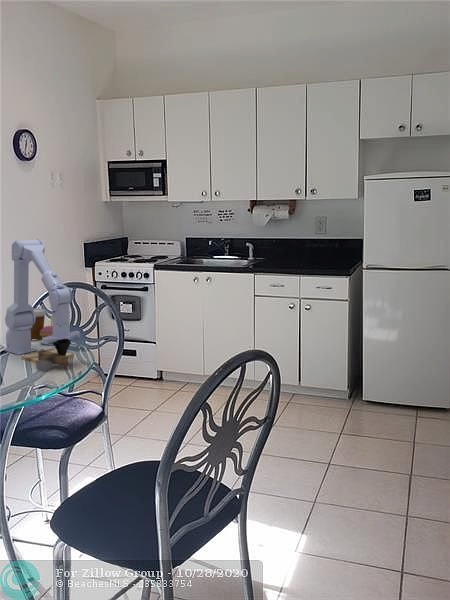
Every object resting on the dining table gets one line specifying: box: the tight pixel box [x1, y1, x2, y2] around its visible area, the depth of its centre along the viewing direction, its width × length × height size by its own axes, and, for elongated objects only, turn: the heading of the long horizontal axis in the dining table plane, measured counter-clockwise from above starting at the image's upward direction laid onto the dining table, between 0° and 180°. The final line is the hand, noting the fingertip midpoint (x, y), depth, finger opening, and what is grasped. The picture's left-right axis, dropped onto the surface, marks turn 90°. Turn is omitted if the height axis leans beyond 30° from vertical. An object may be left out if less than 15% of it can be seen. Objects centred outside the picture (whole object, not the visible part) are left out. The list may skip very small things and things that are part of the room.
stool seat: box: [21, 348, 75, 364], centre depth 226 cm, size 12×14×1 cm
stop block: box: [35, 359, 55, 373], centre depth 212 cm, size 5×4×3 cm
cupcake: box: [40, 314, 54, 345], centre depth 246 cm, size 9×8×12 cm
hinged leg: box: [37, 348, 70, 367], centre depth 215 cm, size 14×3×4 cm, turn 54°
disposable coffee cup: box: [31, 307, 47, 341], centre depth 252 cm, size 10×10×12 cm
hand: (62, 360), depth 216 cm, fingers closed
